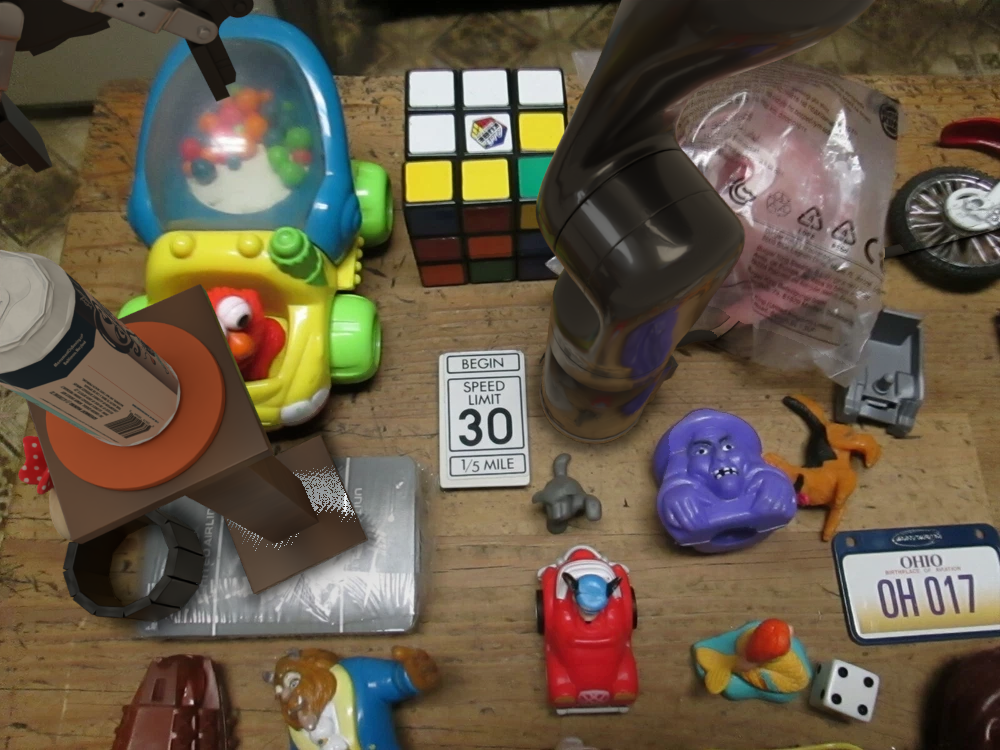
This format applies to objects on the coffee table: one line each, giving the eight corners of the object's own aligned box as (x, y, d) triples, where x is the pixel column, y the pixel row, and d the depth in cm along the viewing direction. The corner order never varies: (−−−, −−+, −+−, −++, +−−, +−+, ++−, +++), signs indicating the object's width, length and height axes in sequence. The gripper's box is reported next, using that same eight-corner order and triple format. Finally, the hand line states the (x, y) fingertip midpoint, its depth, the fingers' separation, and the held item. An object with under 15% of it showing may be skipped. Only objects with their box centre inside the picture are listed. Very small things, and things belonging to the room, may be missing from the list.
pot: (184, 498, 71) (156, 484, 65) (218, 591, 68) (192, 584, 63) (86, 544, 70) (50, 533, 64) (118, 640, 67) (83, 637, 62)
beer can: (199, 369, 41) (83, 257, 30) (161, 460, 40) (23, 378, 28) (110, 345, 42) (-37, 226, 30) (69, 434, 40) (-102, 343, 29)
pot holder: (192, 299, 43) (187, 294, 43) (251, 443, 41) (247, 439, 40) (30, 369, 42) (24, 365, 41) (81, 521, 39) (74, 519, 39)
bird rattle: (156, 522, 72) (150, 419, 72) (94, 560, 61) (86, 438, 61) (85, 524, 72) (78, 421, 72) (10, 562, 61) (1, 441, 61)
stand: (322, 437, 73) (200, 283, 44) (368, 540, 70) (269, 449, 41) (214, 487, 71) (13, 363, 42) (256, 595, 68) (71, 541, 39)
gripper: (-365, -60, 21) (1, 246, 36) (171, -239, 23) (304, 122, 38) (-402, -244, 23) (-42, 117, 39) (90, -393, 25) (246, 7, 41)
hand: (130, 119), depth 38 cm, fingers open, 8 cm apart
